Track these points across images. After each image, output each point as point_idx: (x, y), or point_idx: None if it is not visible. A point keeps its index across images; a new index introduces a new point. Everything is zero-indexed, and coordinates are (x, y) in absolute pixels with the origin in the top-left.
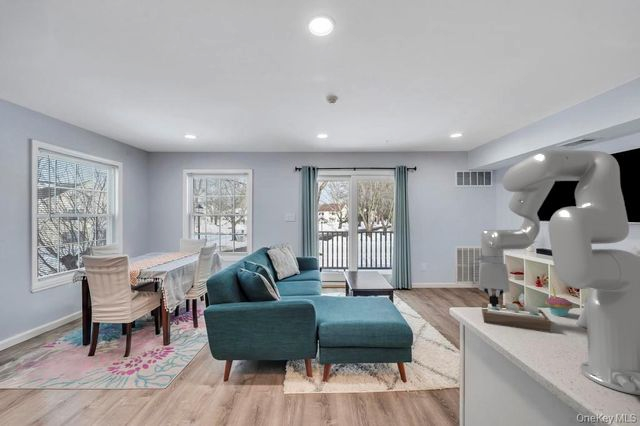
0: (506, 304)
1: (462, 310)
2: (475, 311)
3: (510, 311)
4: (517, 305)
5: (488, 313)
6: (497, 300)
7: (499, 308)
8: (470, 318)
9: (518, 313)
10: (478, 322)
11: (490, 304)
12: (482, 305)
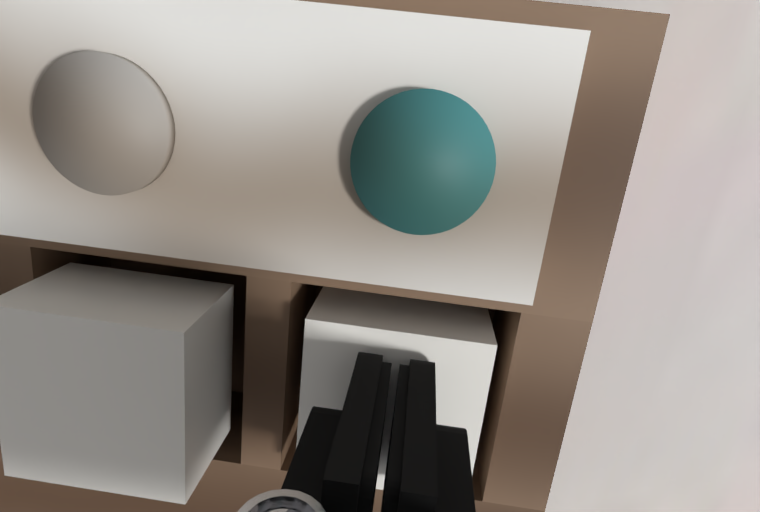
0: (177, 391)
1: (744, 494)
2: (577, 497)
3: (170, 112)
4: (3, 381)
5: (579, 8)
6: (314, 451)
7: (331, 258)
8: (746, 180)
9: (48, 25)
10: (681, 24)
11: None
12: (556, 460)
